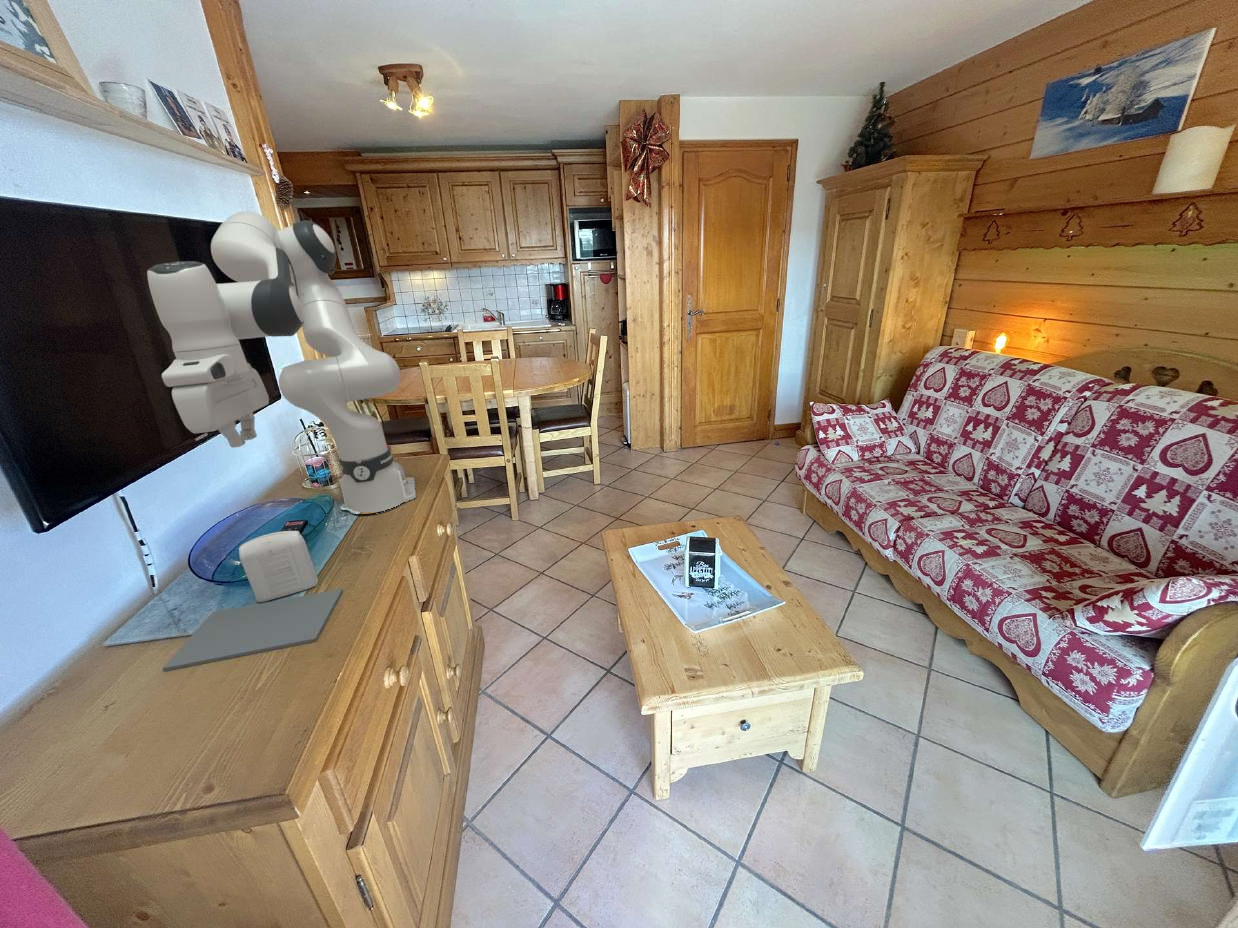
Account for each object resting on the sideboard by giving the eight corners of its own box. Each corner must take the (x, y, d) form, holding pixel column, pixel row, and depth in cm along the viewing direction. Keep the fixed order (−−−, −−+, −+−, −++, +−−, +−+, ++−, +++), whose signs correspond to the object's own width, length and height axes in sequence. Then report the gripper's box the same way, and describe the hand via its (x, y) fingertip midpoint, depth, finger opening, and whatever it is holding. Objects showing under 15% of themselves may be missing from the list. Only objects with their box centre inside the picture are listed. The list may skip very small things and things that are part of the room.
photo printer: (319, 576, 97) (300, 522, 92) (319, 587, 93) (298, 531, 89) (259, 594, 92) (235, 539, 88) (256, 606, 89) (231, 549, 84)
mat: (214, 614, 88) (212, 612, 87) (343, 591, 91) (342, 588, 91) (163, 671, 75) (162, 668, 74) (316, 641, 78) (315, 638, 78)
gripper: (226, 358, 90) (253, 428, 95) (153, 378, 71) (191, 464, 76) (263, 354, 91) (288, 424, 96) (200, 373, 72) (234, 458, 77)
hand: (244, 442), depth 86 cm, fingers open, 3 cm apart
